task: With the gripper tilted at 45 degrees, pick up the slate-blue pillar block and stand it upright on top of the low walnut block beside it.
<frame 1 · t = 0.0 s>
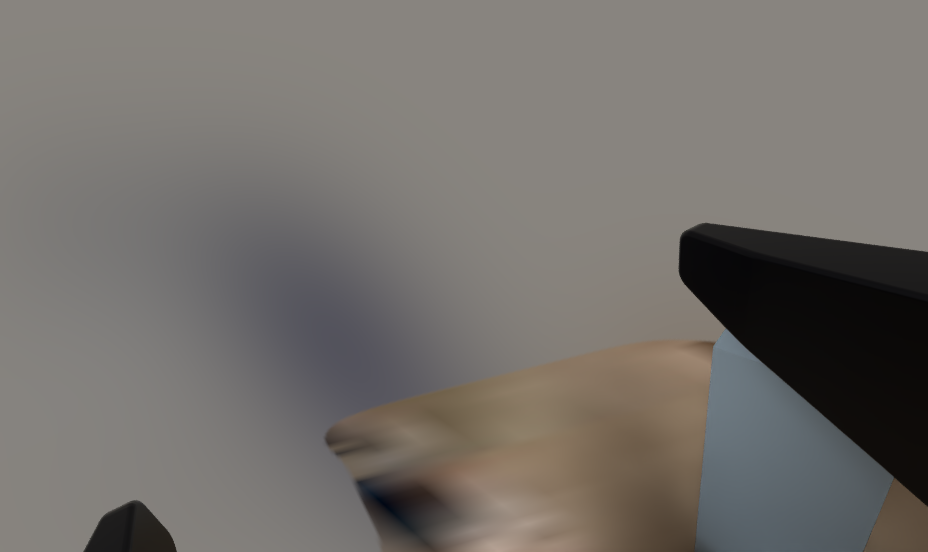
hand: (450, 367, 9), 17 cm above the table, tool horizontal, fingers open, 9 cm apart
pillar: (779, 543, 22), on the table
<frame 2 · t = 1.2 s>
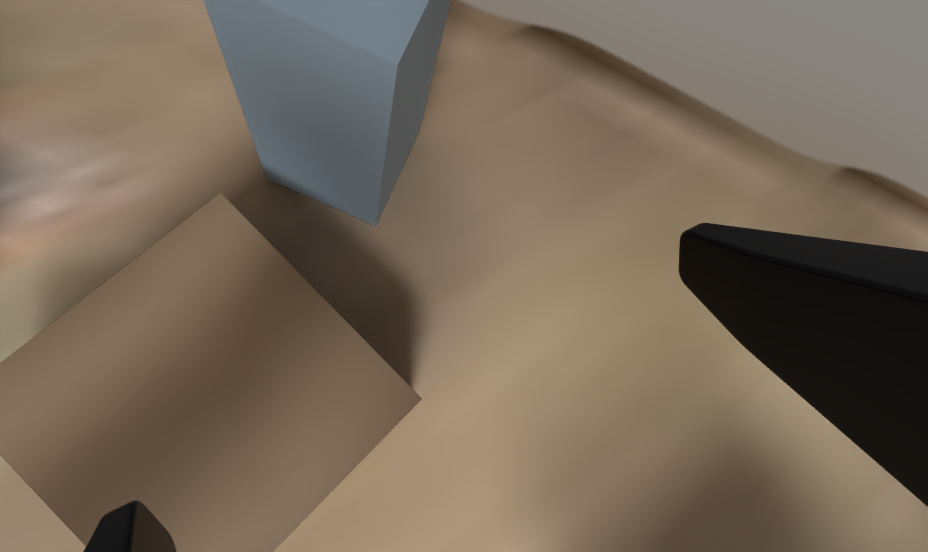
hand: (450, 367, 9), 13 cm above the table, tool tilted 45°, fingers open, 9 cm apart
base block: (229, 403, 21), on the table
pillar: (345, 154, 23), on the table
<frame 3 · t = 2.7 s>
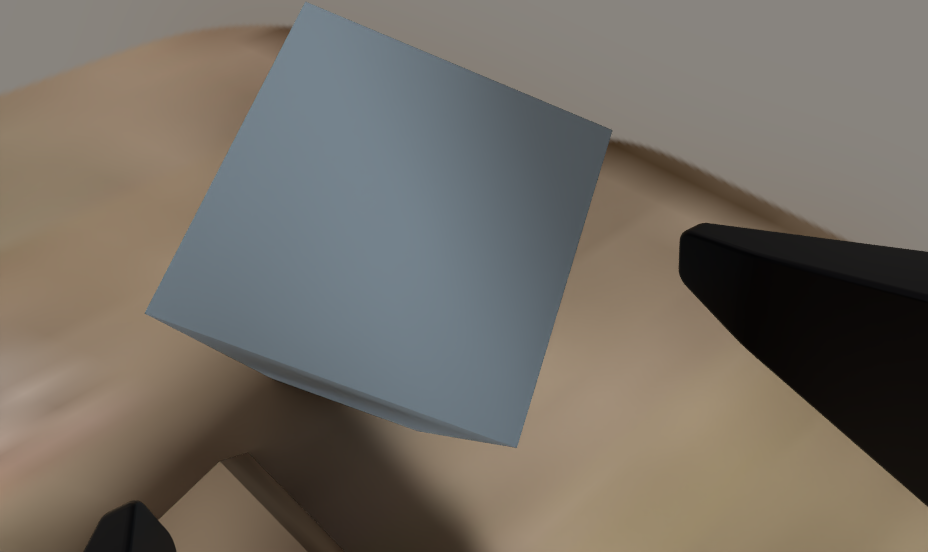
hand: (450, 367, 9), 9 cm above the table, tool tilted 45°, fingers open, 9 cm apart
pillar: (374, 334, 18), on the table
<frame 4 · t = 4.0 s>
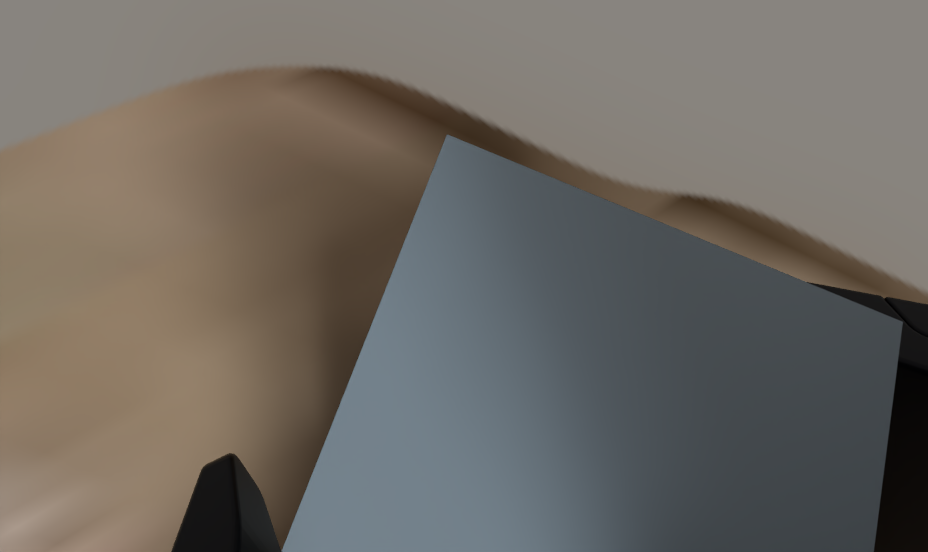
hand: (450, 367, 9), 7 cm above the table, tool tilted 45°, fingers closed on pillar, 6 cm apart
pillar: (432, 437, 15), on the table, touching gripper
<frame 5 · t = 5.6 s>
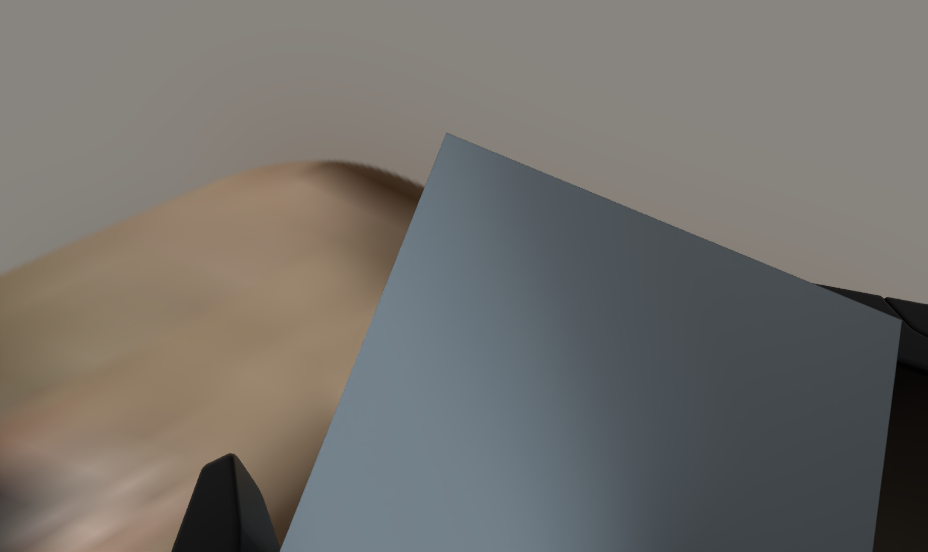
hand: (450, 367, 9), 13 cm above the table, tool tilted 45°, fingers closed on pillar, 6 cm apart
pillar: (432, 437, 15), point 7 cm above the table, touching gripper
when the fingers open (12 cm above the table, at t = 7.4 s): pillar drops 2 cm, resting on base block.
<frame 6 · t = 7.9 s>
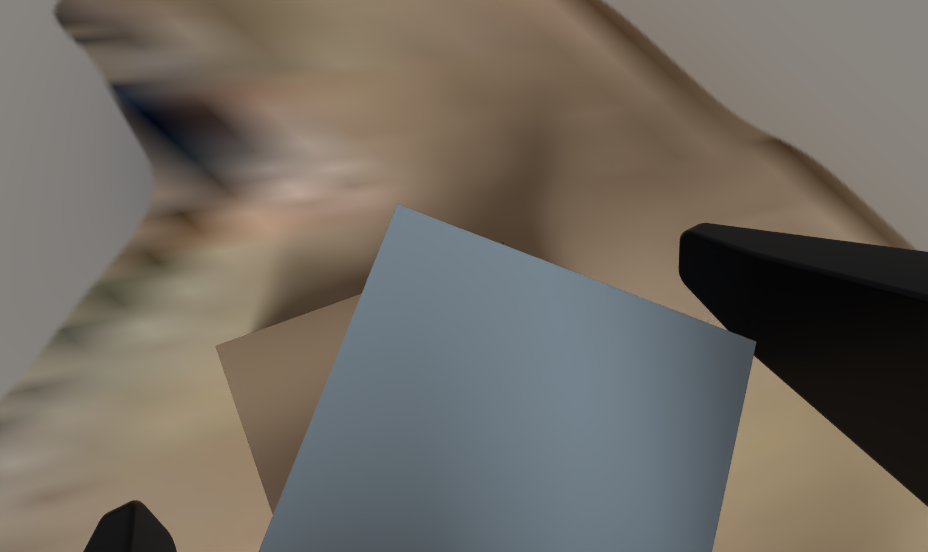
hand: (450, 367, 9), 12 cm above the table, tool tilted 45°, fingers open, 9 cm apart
base block: (410, 431, 21), on the table, touching pillar
pillar: (425, 427, 17), point 4 cm above the table, touching base block
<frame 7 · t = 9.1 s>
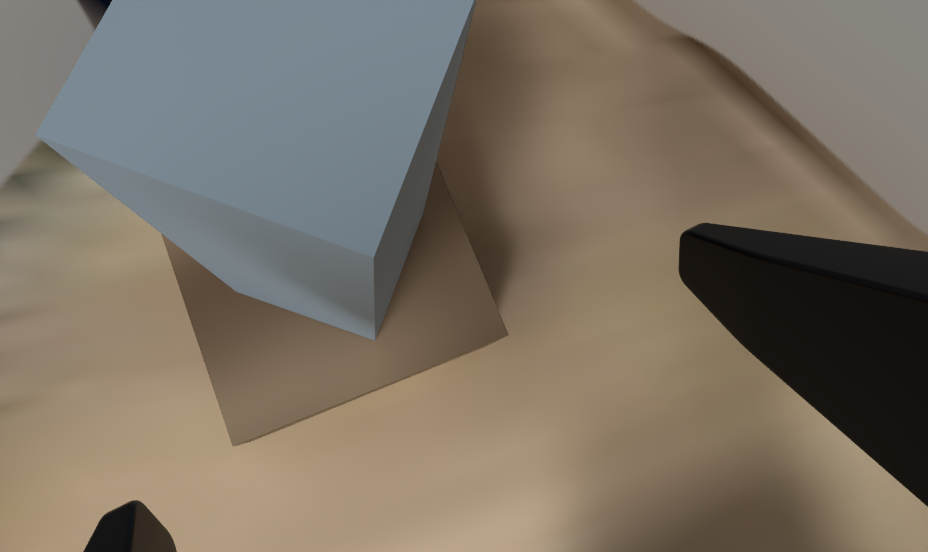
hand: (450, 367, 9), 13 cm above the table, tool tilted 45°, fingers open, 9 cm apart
base block: (332, 281, 23), on the table, touching pillar
pillar: (333, 250, 19), point 4 cm above the table, touching base block
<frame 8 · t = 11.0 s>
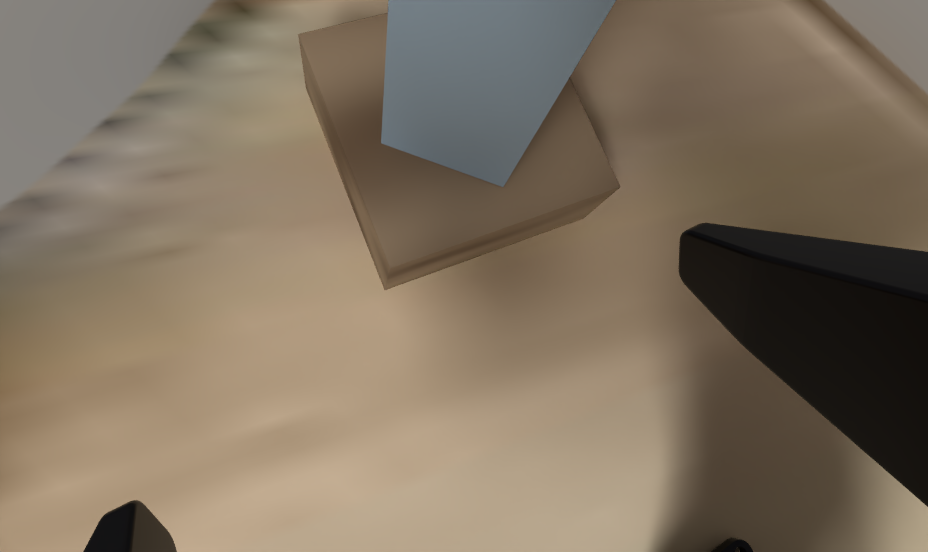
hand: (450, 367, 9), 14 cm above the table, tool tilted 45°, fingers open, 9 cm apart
base block: (446, 158, 25), on the table, touching pillar
pillar: (461, 110, 21), point 4 cm above the table, touching base block
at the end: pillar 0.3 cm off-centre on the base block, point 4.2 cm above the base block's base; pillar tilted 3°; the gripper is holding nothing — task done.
